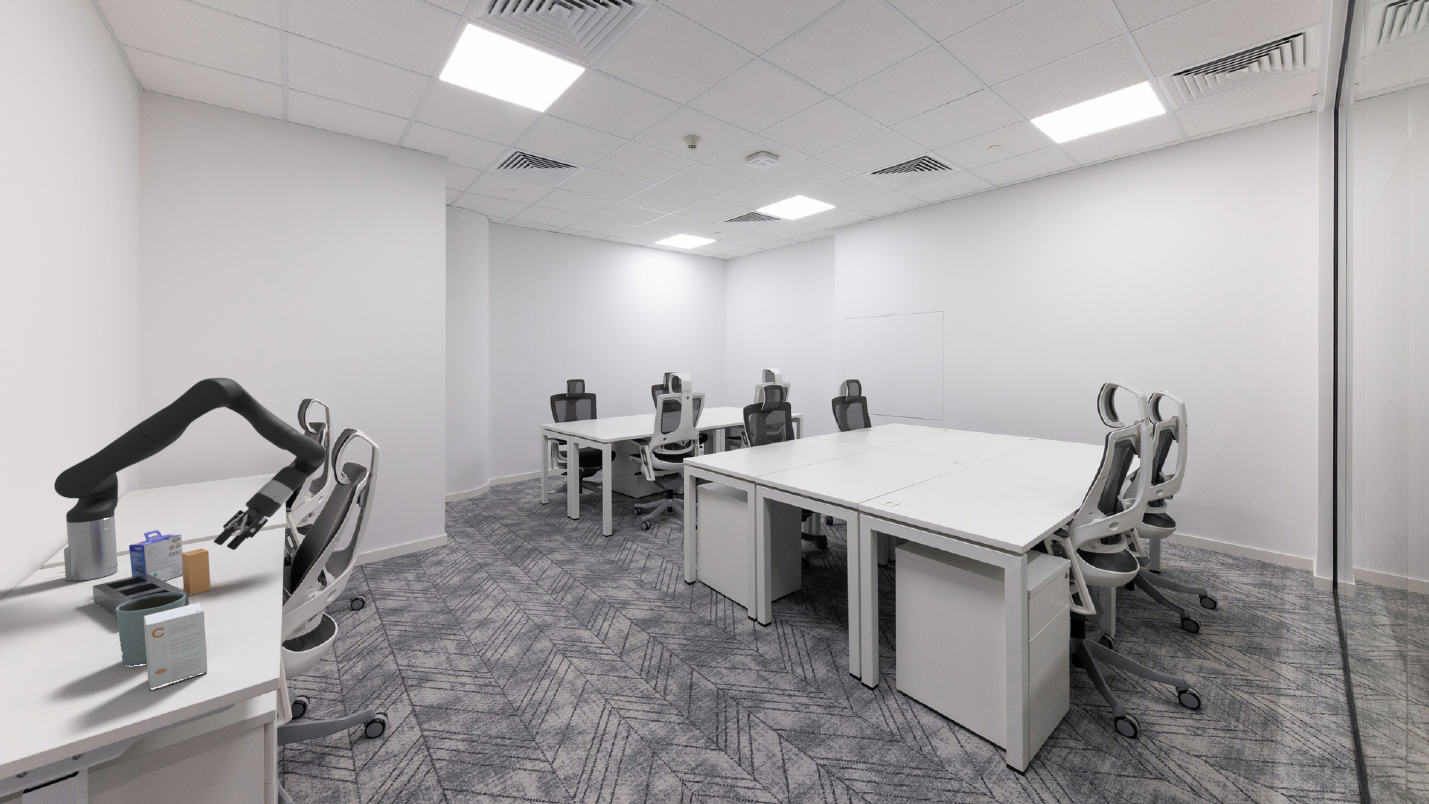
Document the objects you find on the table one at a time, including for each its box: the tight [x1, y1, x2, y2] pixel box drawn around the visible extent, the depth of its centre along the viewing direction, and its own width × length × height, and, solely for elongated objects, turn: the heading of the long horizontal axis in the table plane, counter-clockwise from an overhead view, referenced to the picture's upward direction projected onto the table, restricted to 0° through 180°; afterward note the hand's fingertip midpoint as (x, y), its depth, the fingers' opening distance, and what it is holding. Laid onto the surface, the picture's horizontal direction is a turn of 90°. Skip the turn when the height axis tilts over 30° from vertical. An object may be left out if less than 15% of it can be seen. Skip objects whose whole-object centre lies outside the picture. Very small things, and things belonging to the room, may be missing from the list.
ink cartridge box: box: [128, 529, 184, 582], centre depth 153 cm, size 10×6×14 cm, turn 174°
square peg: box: [182, 548, 211, 596], centre depth 146 cm, size 4×4×11 cm
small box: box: [144, 602, 208, 690], centre depth 104 cm, size 8×6×13 cm
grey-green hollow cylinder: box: [115, 592, 186, 666], centre depth 112 cm, size 10×10×12 cm
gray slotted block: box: [92, 573, 190, 618], centre depth 136 cm, size 28×10×4 cm, turn 62°
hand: (223, 546), depth 151 cm, fingers open, 8 cm apart
